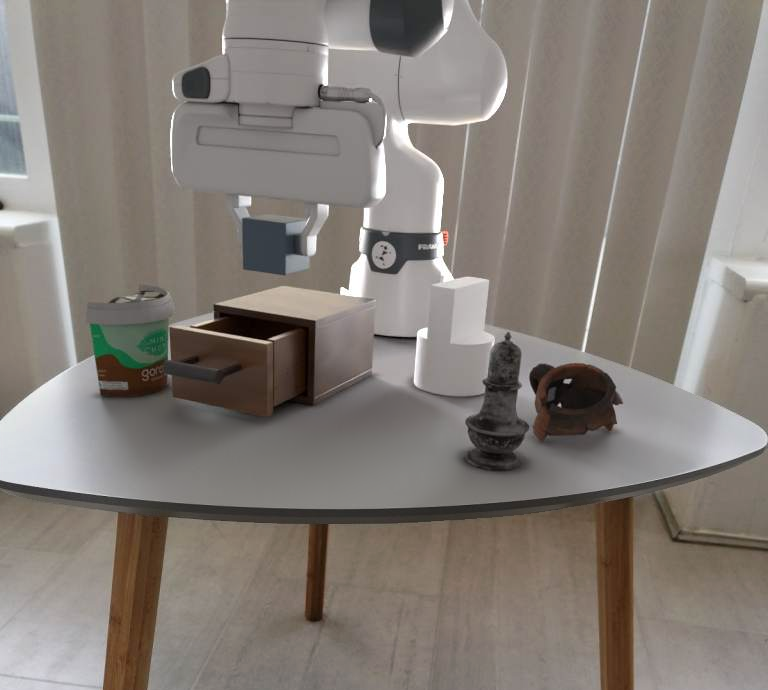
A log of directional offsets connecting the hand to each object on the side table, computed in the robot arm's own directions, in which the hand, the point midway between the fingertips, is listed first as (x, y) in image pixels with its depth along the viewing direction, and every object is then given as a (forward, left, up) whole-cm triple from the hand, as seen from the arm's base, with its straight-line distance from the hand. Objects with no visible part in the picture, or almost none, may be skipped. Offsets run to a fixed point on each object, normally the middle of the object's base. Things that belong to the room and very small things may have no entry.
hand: (276, 251), depth 77 cm
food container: (-2, -18, -17) cm, 24 cm away
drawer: (-3, -6, -16) cm, 17 cm away
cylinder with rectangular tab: (-23, +10, -17) cm, 30 cm away
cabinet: (-14, -6, -17) cm, 23 cm away
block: (0, 0, -2) cm, 2 cm away
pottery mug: (-14, +26, -17) cm, 34 cm away
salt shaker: (-2, +22, -17) cm, 28 cm away
